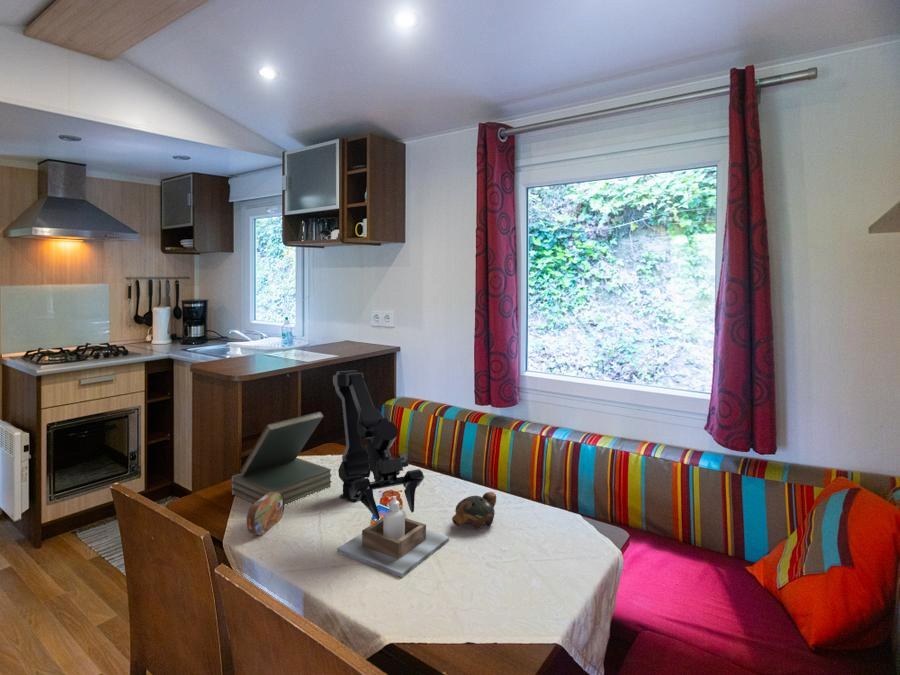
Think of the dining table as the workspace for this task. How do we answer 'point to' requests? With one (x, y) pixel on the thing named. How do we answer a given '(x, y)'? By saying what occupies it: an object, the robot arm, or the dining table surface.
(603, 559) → the dining table surface
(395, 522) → the eye dropper bottle
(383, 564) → the box
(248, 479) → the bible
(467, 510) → the decorative turtle
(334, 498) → the dining table surface
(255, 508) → the tin
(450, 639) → the dining table surface
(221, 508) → the dining table surface
